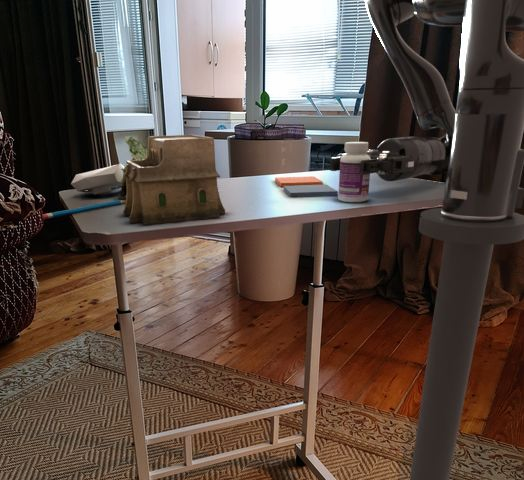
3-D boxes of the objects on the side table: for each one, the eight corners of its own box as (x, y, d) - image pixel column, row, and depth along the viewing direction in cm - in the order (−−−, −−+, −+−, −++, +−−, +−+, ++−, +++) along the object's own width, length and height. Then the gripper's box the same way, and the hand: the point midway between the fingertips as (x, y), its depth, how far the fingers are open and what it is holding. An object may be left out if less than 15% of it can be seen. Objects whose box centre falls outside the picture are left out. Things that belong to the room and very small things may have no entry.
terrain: (186, 205, 94) (192, 196, 92) (144, 207, 87) (150, 197, 85) (151, 142, 96) (156, 132, 94) (108, 139, 90) (112, 129, 88)
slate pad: (326, 188, 103) (327, 184, 102) (337, 195, 95) (337, 191, 94) (283, 189, 102) (283, 185, 102) (290, 197, 94) (290, 192, 94)
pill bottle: (368, 203, 87) (372, 143, 83) (337, 202, 88) (340, 143, 84) (367, 197, 92) (372, 141, 88) (338, 197, 93) (341, 141, 89)
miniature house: (204, 202, 90) (199, 133, 85) (230, 216, 78) (226, 137, 73) (119, 210, 85) (109, 137, 80) (133, 226, 73) (122, 142, 68)
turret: (157, 187, 111) (151, 164, 110) (112, 187, 93) (105, 160, 92) (117, 196, 114) (111, 174, 113) (66, 198, 96) (59, 172, 94)
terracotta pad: (314, 180, 114) (314, 176, 114) (322, 185, 106) (322, 181, 106) (275, 181, 114) (275, 177, 113) (280, 187, 106) (280, 183, 105)
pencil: (43, 214, 79) (45, 219, 79) (128, 199, 91) (129, 202, 92) (41, 214, 79) (42, 219, 80) (125, 198, 92) (126, 202, 92)
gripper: (374, 136, 99) (316, 140, 89) (439, 138, 89) (382, 144, 79) (371, 175, 102) (314, 184, 92) (434, 182, 92) (378, 193, 83)
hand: (346, 166), depth 86 cm, fingers open, 6 cm apart
